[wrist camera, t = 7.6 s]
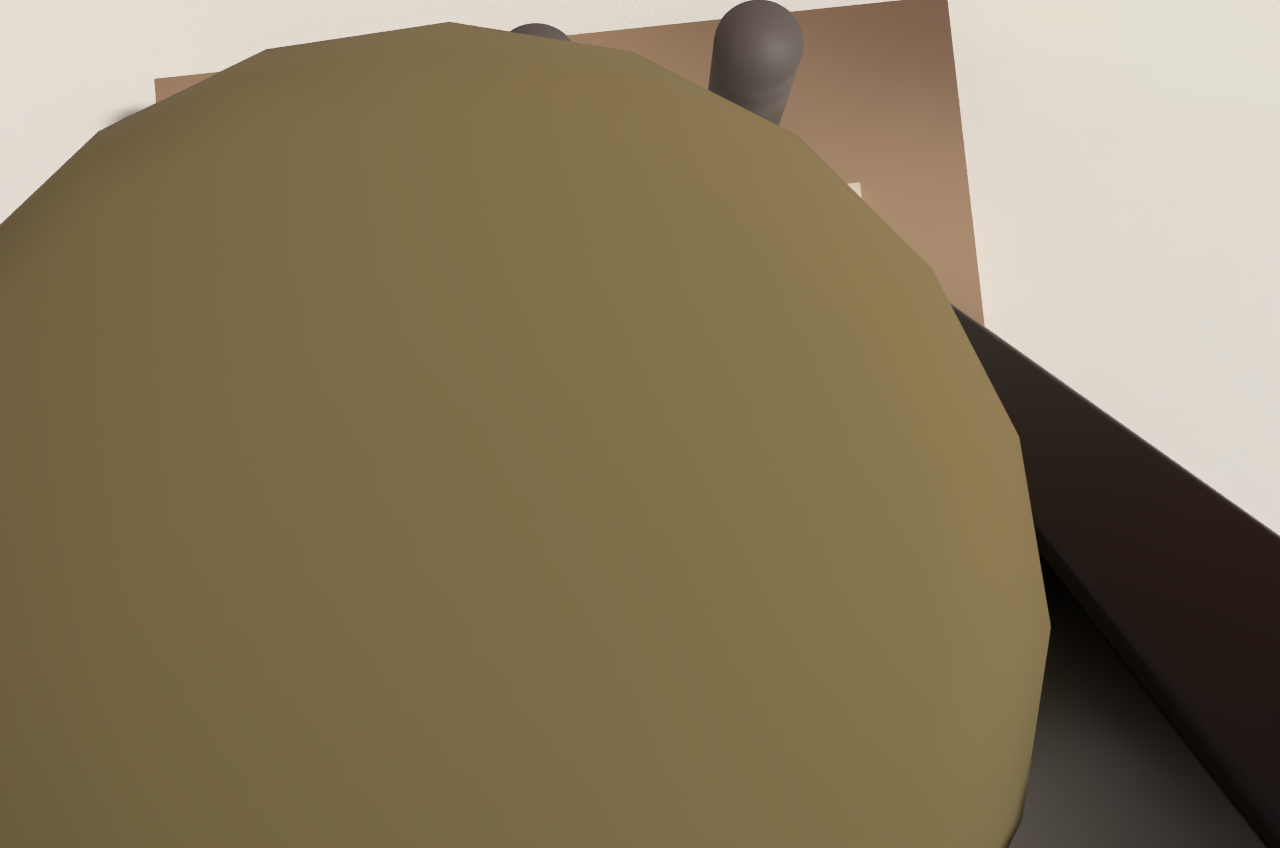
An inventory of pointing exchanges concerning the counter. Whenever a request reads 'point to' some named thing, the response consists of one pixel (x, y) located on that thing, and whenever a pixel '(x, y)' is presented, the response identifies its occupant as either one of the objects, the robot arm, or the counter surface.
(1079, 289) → the counter surface
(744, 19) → the pin board
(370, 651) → the cork
